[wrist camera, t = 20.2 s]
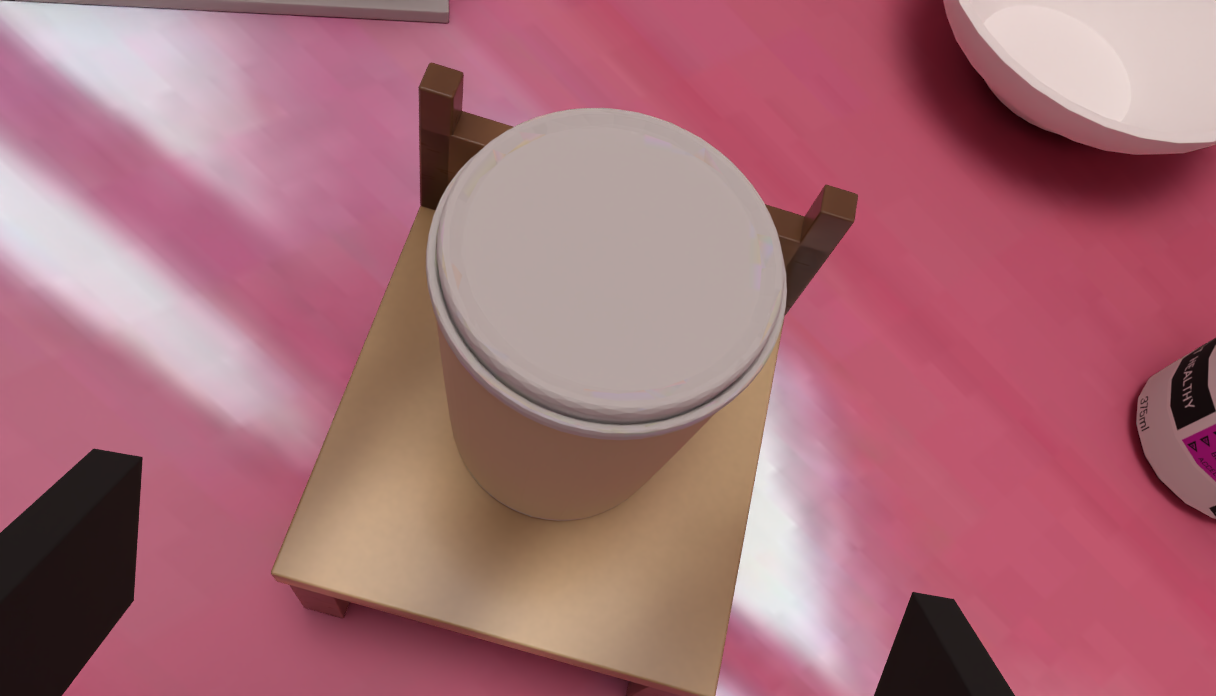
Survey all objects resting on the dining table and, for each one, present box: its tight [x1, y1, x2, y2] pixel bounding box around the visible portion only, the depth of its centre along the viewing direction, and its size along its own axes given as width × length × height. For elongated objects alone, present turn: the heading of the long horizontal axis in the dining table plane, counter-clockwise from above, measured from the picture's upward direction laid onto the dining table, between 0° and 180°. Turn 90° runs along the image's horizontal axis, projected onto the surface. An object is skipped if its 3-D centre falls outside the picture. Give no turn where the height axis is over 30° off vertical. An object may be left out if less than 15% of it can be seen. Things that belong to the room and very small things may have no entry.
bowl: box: [943, 0, 1216, 155], centre depth 53 cm, size 20×20×7 cm
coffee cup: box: [426, 108, 787, 521], centre depth 29 cm, size 9×9×12 cm
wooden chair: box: [271, 63, 858, 696], centre depth 35 cm, size 15×16×14 cm
